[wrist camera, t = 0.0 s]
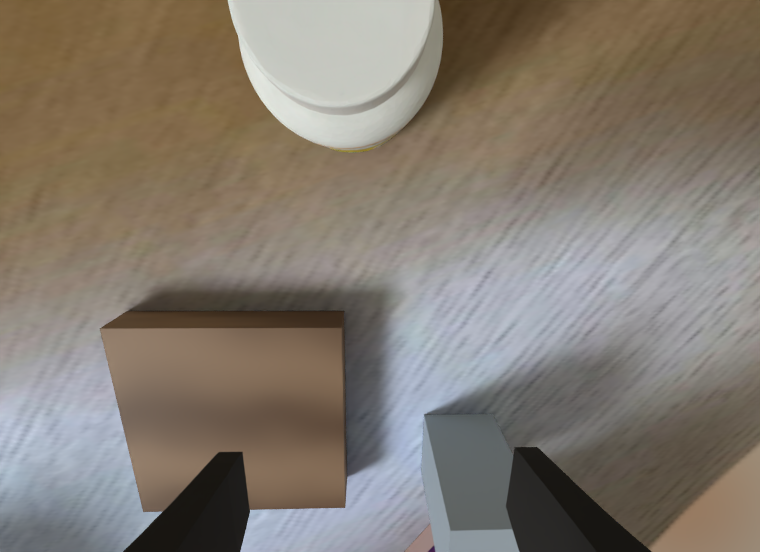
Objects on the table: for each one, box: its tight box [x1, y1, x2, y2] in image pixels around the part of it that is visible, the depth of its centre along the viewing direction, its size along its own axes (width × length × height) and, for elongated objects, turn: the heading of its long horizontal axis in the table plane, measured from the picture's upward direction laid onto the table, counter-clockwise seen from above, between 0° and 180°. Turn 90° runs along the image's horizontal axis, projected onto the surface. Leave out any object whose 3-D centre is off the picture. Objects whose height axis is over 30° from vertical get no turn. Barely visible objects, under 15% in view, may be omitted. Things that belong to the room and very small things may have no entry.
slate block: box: [421, 414, 519, 552], centre depth 19 cm, size 4×4×7 cm
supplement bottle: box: [228, 0, 443, 153], centre depth 12 cm, size 5×5×10 cm
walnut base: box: [100, 311, 347, 512], centre depth 20 cm, size 11×11×2 cm
